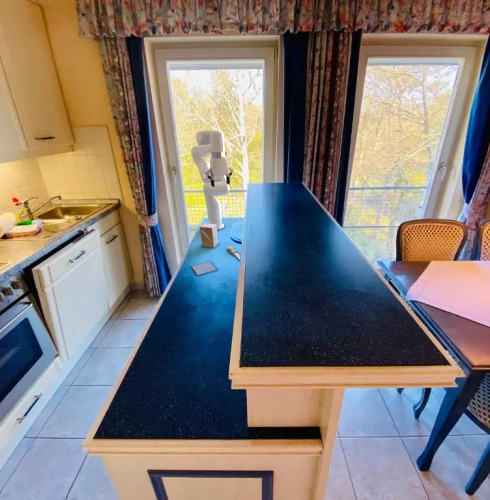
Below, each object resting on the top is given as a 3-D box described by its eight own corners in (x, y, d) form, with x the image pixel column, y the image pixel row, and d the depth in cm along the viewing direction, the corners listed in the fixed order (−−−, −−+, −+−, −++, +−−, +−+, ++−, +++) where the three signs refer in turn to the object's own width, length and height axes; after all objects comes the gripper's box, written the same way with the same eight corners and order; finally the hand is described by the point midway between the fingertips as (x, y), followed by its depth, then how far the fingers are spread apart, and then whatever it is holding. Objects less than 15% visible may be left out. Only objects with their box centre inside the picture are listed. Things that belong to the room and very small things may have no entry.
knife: (227, 249, 166) (227, 246, 165) (230, 248, 167) (230, 245, 166) (239, 260, 152) (239, 258, 152) (243, 259, 153) (243, 257, 153)
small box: (201, 246, 170) (199, 226, 165) (206, 242, 176) (204, 223, 170) (214, 248, 168) (211, 227, 162) (218, 243, 173) (216, 224, 168)
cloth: (191, 267, 148) (191, 266, 148) (209, 262, 152) (209, 261, 152) (197, 275, 140) (197, 274, 140) (216, 270, 144) (216, 269, 144)
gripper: (229, 153, 164) (231, 182, 172) (201, 155, 157) (204, 186, 164) (234, 154, 158) (236, 184, 166) (206, 157, 151) (209, 188, 158)
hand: (220, 185), depth 165 cm, fingers open, 9 cm apart
